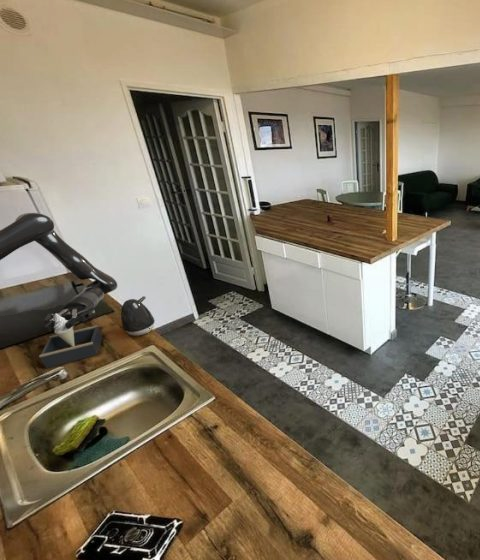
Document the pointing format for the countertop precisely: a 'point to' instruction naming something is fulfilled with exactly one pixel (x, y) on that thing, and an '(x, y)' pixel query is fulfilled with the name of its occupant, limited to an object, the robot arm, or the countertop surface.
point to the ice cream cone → (64, 330)
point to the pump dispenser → (136, 317)
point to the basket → (57, 357)
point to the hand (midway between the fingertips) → (57, 327)
